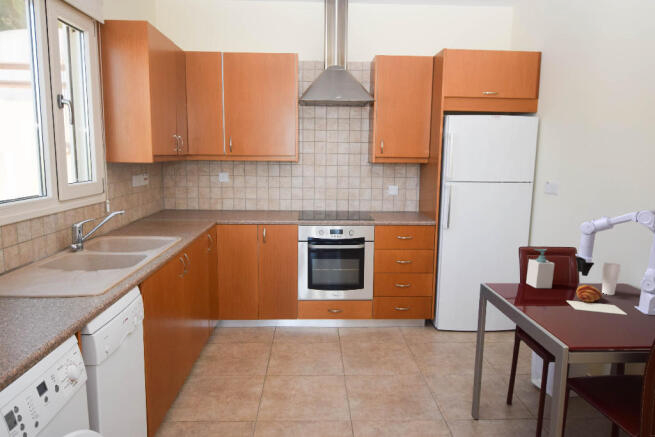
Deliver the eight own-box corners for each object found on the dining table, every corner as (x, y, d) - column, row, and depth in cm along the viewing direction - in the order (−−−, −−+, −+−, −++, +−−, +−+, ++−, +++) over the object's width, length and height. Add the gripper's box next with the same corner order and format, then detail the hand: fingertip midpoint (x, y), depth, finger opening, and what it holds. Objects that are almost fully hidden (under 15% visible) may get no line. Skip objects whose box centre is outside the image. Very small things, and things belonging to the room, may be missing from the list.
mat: (627, 314, 183) (627, 314, 183) (575, 309, 187) (575, 309, 187) (614, 305, 194) (614, 305, 194) (566, 300, 198) (566, 300, 198)
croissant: (583, 299, 213) (576, 283, 214) (606, 294, 207) (599, 278, 208) (576, 308, 196) (568, 291, 198) (600, 303, 190) (592, 285, 192)
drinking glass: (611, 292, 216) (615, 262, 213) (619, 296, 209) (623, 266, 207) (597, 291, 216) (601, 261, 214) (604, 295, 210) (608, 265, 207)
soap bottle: (525, 283, 225) (529, 247, 222) (541, 283, 226) (545, 247, 223) (535, 288, 216) (539, 250, 214) (551, 288, 218) (556, 251, 215)
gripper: (573, 242, 217) (569, 268, 219) (581, 248, 203) (577, 276, 205) (589, 244, 215) (585, 270, 217) (598, 250, 201) (593, 278, 204)
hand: (582, 273), depth 211 cm, fingers open, 7 cm apart
